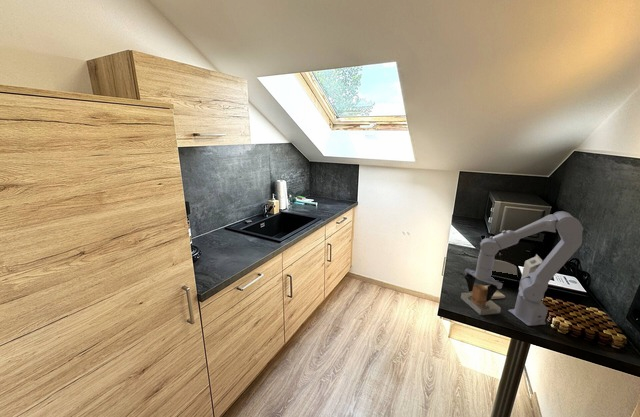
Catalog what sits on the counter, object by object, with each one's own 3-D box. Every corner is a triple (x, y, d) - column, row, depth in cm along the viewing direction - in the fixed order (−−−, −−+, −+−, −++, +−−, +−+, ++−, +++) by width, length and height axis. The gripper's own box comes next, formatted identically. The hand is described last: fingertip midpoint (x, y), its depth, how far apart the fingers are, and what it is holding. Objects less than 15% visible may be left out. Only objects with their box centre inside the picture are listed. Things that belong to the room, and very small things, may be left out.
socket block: (499, 313, 108) (501, 307, 107) (480, 315, 107) (481, 309, 106) (478, 296, 120) (479, 291, 119) (460, 297, 118) (461, 293, 118)
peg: (485, 306, 112) (488, 289, 110) (476, 307, 112) (480, 290, 110) (478, 300, 116) (481, 284, 114) (470, 301, 116) (473, 285, 114)
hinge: (479, 276, 137) (481, 257, 138) (478, 275, 142) (480, 257, 142) (518, 284, 130) (520, 264, 131) (515, 282, 135) (518, 263, 135)
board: (504, 297, 119) (505, 295, 118) (486, 299, 117) (487, 297, 117) (489, 287, 127) (490, 285, 127) (472, 288, 126) (473, 286, 126)
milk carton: (536, 292, 123) (546, 255, 118) (542, 301, 117) (552, 262, 112) (518, 289, 126) (526, 252, 121) (523, 297, 119) (532, 259, 114)
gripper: (508, 271, 106) (502, 301, 109) (472, 258, 118) (468, 285, 121) (499, 276, 102) (493, 306, 106) (463, 261, 114) (458, 289, 118)
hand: (479, 295), depth 113 cm, fingers open, 7 cm apart
